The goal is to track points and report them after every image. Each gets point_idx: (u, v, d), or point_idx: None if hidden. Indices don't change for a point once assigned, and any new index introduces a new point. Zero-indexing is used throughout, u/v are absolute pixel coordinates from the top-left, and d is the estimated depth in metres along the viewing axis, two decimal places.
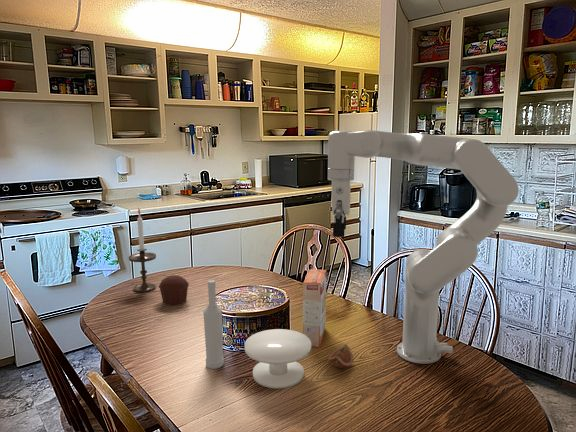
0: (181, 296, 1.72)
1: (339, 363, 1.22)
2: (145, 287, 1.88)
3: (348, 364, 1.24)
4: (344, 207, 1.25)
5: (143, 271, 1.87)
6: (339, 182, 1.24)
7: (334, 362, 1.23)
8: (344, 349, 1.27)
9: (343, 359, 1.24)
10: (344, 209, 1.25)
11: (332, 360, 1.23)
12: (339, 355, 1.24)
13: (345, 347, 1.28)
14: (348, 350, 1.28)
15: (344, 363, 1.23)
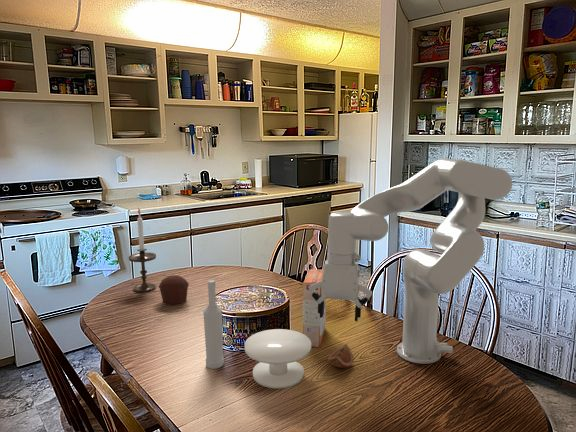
0: (181, 296, 1.72)
1: (339, 363, 1.22)
2: (145, 287, 1.88)
3: (348, 364, 1.24)
4: None
5: (143, 271, 1.87)
6: (357, 265, 1.20)
7: (334, 362, 1.23)
8: (344, 349, 1.27)
9: (343, 359, 1.24)
10: None
11: (332, 360, 1.23)
12: (339, 355, 1.24)
13: (345, 347, 1.28)
14: (348, 350, 1.28)
15: (344, 363, 1.23)
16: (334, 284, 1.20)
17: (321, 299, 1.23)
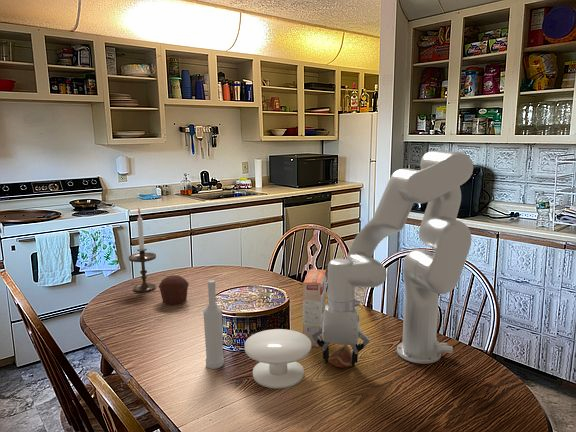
0: (181, 296, 1.72)
1: (339, 363, 1.22)
2: (145, 287, 1.88)
3: (348, 364, 1.24)
4: None
5: (143, 271, 1.87)
6: (357, 311, 1.22)
7: (334, 362, 1.23)
8: (344, 349, 1.27)
9: (343, 359, 1.24)
10: None
11: (332, 360, 1.23)
12: (339, 355, 1.24)
13: (345, 347, 1.28)
14: (348, 350, 1.28)
15: (344, 363, 1.23)
16: (334, 330, 1.23)
17: (326, 346, 1.25)
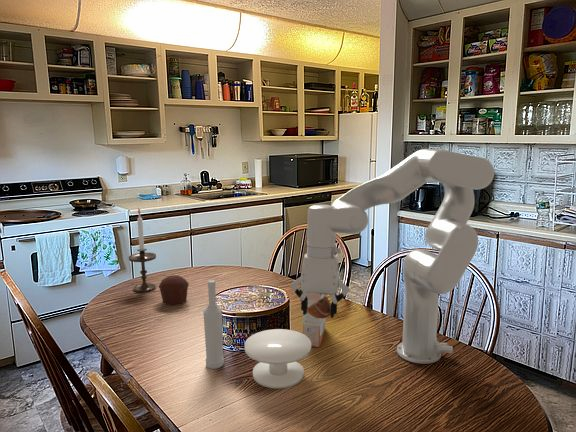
0: (181, 296, 1.72)
1: (317, 312, 1.18)
2: (145, 287, 1.88)
3: (327, 314, 1.20)
4: None
5: (143, 271, 1.87)
6: (337, 259, 1.18)
7: (312, 311, 1.19)
8: (323, 300, 1.23)
9: (321, 309, 1.20)
10: (338, 286, 1.21)
11: (310, 309, 1.19)
12: (317, 305, 1.19)
13: (324, 298, 1.24)
14: (327, 302, 1.24)
15: (322, 313, 1.19)
16: (313, 278, 1.18)
17: (304, 296, 1.21)
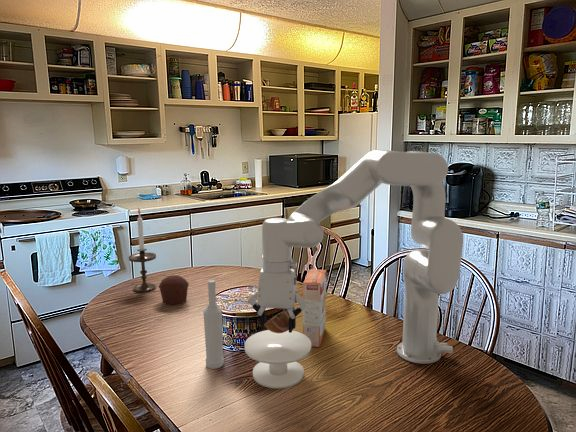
0: (181, 296, 1.72)
1: (274, 327, 1.16)
2: (145, 287, 1.88)
3: (284, 329, 1.18)
4: None
5: (143, 271, 1.87)
6: (293, 273, 1.16)
7: (269, 327, 1.17)
8: (282, 314, 1.21)
9: (279, 324, 1.18)
10: (296, 300, 1.19)
11: (267, 324, 1.17)
12: (275, 319, 1.17)
13: (283, 312, 1.22)
14: (286, 316, 1.22)
15: (279, 328, 1.17)
16: (270, 292, 1.16)
17: (262, 311, 1.19)
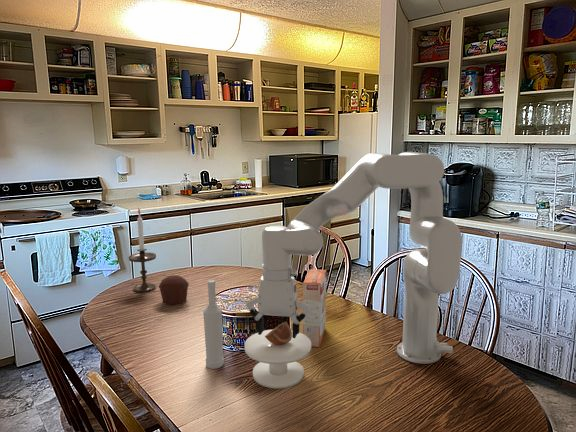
0: (181, 296, 1.72)
1: (275, 339, 1.17)
2: (145, 287, 1.88)
3: (285, 341, 1.18)
4: None
5: (143, 271, 1.87)
6: (293, 280, 1.16)
7: (270, 339, 1.17)
8: (283, 326, 1.21)
9: (280, 335, 1.18)
10: (297, 305, 1.19)
11: (268, 336, 1.17)
12: (276, 331, 1.18)
13: (284, 324, 1.22)
14: (287, 327, 1.22)
15: (280, 340, 1.17)
16: (270, 300, 1.17)
17: (259, 316, 1.19)
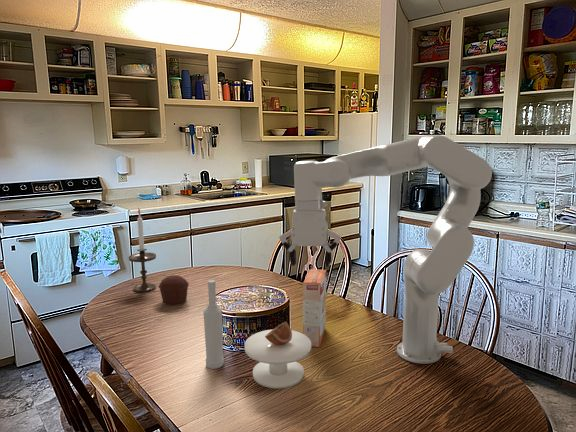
0: (181, 296, 1.72)
1: (275, 339, 1.17)
2: (145, 287, 1.88)
3: (285, 341, 1.18)
4: (328, 234, 1.26)
5: (143, 271, 1.87)
6: (324, 211, 1.24)
7: (270, 339, 1.17)
8: (283, 326, 1.21)
9: (280, 336, 1.18)
10: None
11: (268, 337, 1.17)
12: (276, 331, 1.18)
13: (284, 324, 1.22)
14: (287, 327, 1.22)
15: (280, 340, 1.17)
16: (303, 231, 1.23)
17: (292, 247, 1.26)
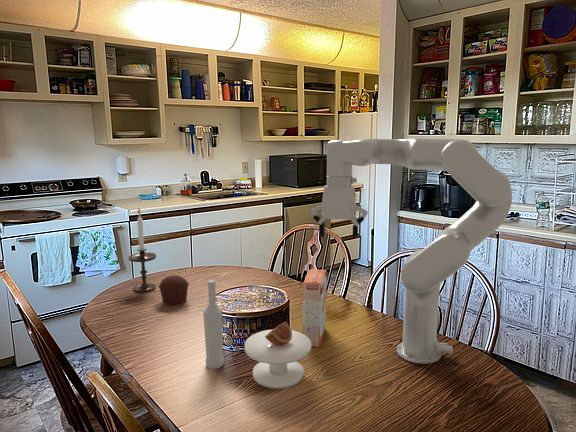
0: (181, 296, 1.72)
1: (275, 339, 1.17)
2: (145, 287, 1.88)
3: (285, 341, 1.18)
4: (356, 209, 1.36)
5: (143, 271, 1.87)
6: (353, 187, 1.33)
7: (270, 339, 1.17)
8: (283, 326, 1.21)
9: (280, 335, 1.18)
10: (355, 211, 1.36)
11: (268, 337, 1.17)
12: (276, 331, 1.18)
13: (284, 324, 1.22)
14: (287, 327, 1.22)
15: (280, 340, 1.17)
16: (333, 205, 1.33)
17: (322, 220, 1.36)
